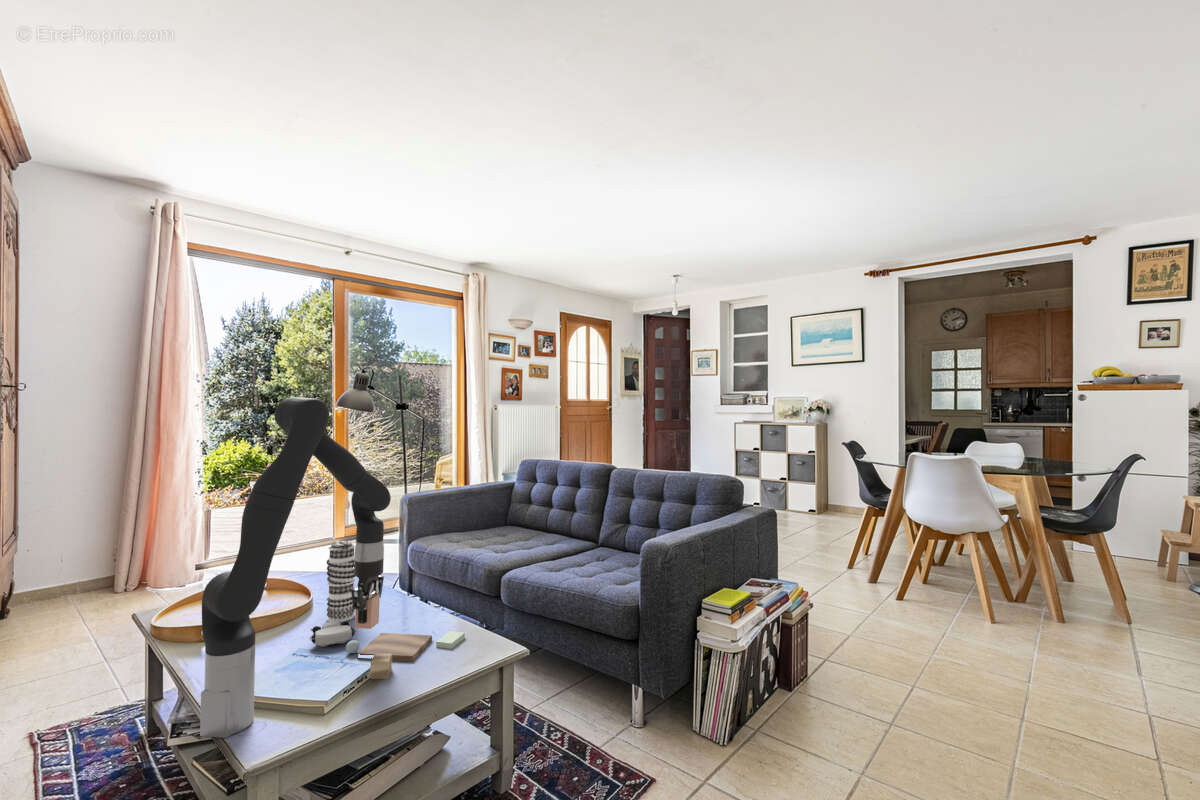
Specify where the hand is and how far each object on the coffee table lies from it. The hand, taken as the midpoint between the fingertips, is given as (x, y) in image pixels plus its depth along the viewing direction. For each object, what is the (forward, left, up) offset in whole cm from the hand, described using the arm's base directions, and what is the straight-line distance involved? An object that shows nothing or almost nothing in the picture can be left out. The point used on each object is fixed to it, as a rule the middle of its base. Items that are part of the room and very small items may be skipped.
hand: (367, 619), depth 153 cm
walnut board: (+9, -4, -12) cm, 16 cm away
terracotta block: (0, 0, -2) cm, 2 cm away
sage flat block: (+16, -18, -12) cm, 27 cm away
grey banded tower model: (+30, +25, -12) cm, 41 cm away
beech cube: (-6, -7, -12) cm, 15 cm away
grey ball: (+5, +7, -10) cm, 13 cm away
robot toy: (+13, +18, -12) cm, 25 cm away
